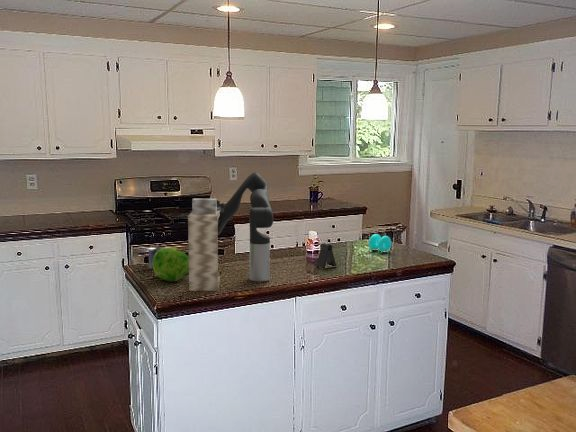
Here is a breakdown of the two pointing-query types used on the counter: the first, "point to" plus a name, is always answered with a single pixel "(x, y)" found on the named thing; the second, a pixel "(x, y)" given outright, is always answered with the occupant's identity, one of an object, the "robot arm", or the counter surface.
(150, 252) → the flask
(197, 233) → the beige patterned upright block
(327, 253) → the door stopper
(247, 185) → the robot arm
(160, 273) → the lettuce
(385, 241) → the turquoise double oval
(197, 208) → the grey patterned block
